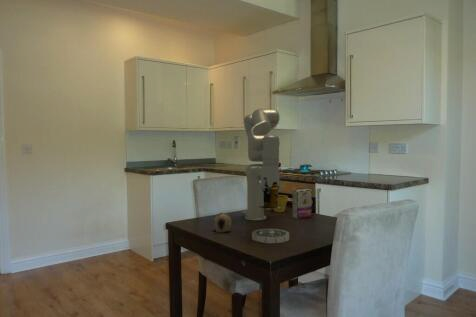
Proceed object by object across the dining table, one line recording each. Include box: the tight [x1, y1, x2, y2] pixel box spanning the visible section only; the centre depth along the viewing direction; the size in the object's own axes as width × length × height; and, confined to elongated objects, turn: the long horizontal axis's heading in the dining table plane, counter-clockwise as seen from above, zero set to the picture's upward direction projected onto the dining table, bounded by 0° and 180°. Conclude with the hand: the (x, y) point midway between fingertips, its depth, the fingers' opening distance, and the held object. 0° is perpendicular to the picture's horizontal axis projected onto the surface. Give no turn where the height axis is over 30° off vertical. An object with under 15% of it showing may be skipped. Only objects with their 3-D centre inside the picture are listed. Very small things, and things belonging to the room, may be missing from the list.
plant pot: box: [273, 194, 289, 213], centre depth 240 cm, size 10×10×10 cm
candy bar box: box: [292, 188, 313, 220], centre depth 221 cm, size 11×5×16 cm, turn 120°
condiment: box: [259, 182, 281, 210], centre depth 174 cm, size 7×8×12 cm
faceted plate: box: [251, 228, 290, 244], centre depth 175 cm, size 17×17×2 cm
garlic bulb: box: [213, 212, 233, 233], centre depth 188 cm, size 9×8×10 cm
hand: (270, 200), depth 174 cm, fingers closed on condiment, 6 cm apart
